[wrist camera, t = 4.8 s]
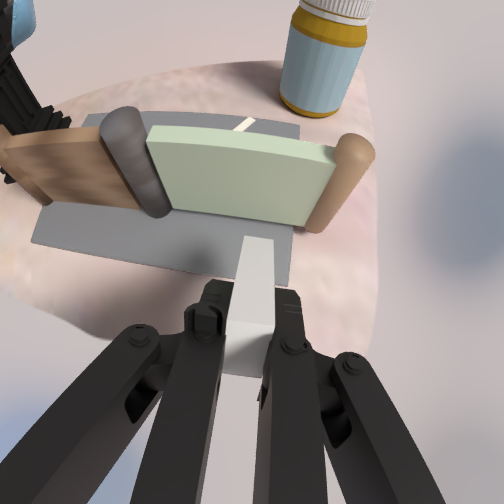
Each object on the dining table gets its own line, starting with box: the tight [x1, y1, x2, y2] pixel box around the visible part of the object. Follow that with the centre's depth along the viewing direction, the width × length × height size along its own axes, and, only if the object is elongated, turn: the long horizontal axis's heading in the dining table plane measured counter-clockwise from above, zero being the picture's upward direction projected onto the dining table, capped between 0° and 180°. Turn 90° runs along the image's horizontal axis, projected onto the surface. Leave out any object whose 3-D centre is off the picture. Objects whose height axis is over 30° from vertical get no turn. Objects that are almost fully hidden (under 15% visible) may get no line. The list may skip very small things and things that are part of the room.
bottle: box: [279, 0, 376, 118], centre depth 20 cm, size 7×7×15 cm
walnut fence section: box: [0, 106, 173, 219], centre depth 17 cm, size 15×2×10 cm, turn 82°
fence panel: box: [146, 125, 375, 233], centre depth 17 cm, size 12×2×9 cm, turn 82°
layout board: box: [31, 111, 300, 287], centre depth 23 cm, size 24×16×1 cm, turn 82°
